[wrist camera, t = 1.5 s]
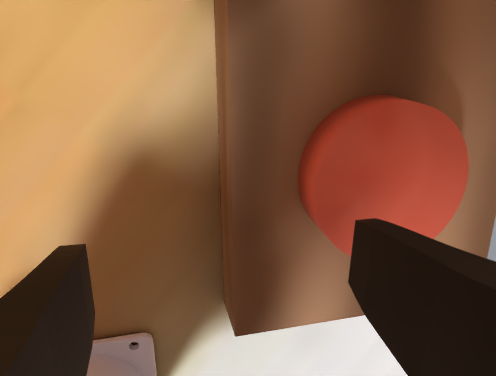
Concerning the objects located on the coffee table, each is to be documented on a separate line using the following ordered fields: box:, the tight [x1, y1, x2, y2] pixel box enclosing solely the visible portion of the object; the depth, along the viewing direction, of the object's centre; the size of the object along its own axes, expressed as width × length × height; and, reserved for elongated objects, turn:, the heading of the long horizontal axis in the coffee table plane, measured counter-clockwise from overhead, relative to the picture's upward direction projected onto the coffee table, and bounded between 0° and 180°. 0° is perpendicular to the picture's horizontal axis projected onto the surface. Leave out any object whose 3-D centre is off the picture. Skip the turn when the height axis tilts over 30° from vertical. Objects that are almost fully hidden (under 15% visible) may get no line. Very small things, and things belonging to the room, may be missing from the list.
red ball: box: [298, 95, 469, 256], centre depth 19 cm, size 7×7×2 cm
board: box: [214, 0, 496, 337], centre depth 22 cm, size 14×16×3 cm
